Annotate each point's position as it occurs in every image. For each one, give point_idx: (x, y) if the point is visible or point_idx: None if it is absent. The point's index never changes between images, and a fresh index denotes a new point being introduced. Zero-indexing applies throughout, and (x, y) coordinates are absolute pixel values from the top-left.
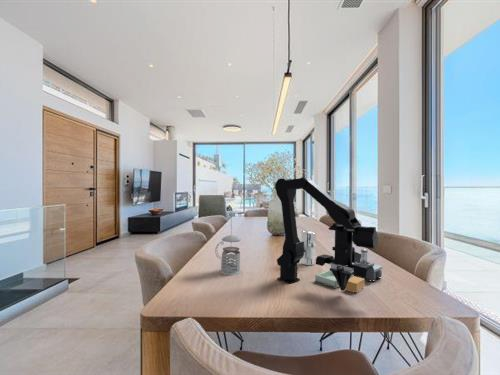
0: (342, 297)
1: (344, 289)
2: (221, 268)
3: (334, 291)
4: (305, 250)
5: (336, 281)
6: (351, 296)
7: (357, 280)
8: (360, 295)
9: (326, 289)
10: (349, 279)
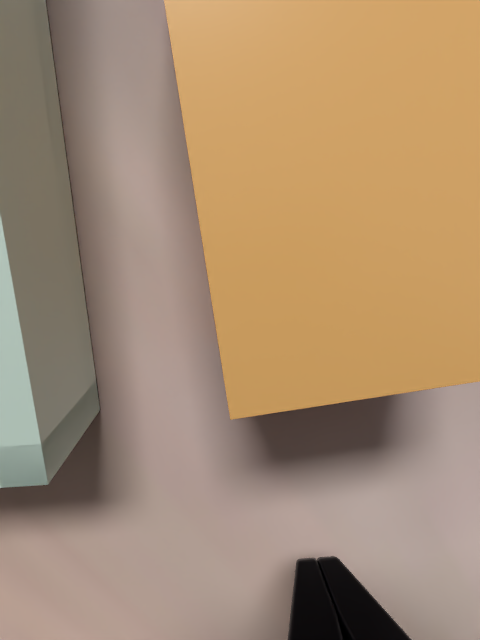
0: None
1: (343, 577)
2: None
3: (162, 515)
4: None
5: (47, 476)
6: (403, 473)
7: (442, 110)
8: None
9: (48, 546)
10: (234, 232)
